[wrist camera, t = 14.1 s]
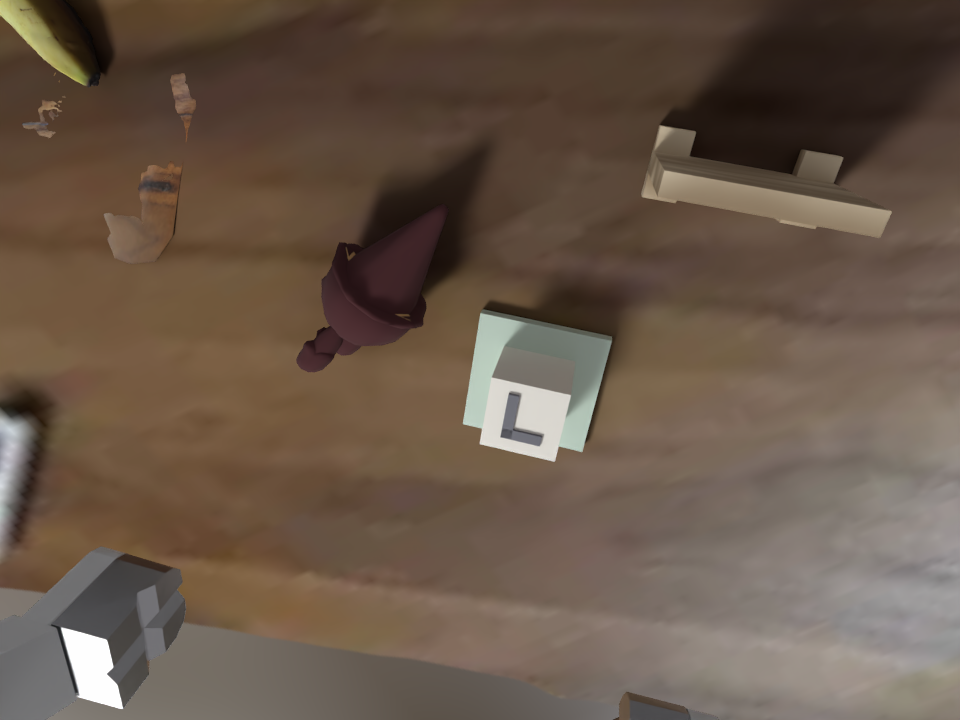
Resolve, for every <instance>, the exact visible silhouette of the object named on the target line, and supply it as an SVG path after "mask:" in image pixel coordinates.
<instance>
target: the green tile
mask: <svg viewBox="0 0 960 720" xmlns="http://www.w3.org/2000/svg"><path fill="white" fill-rule="evenodd" d="M611 342H612V336H607V335H602V334H598V333H593V332H588V331H584V330H579V329H574V328H569V327H565V326H560V325H555V324H551V323H546V322H541V321H536V320H532V319H527V318H522V317H517V316H513V315H508V314H503V313H499V312H494V311H489V310H484V309H483V310H482V312H481V314H480V320H479V326H478V333H477V339H476V345H475V352H474V358H473V364H472V370H471V377H470V383H469V389H468V396H467V402H466V408H465V414H464V421H463V424H465V425H470V426H474V427H478V428H483V423H484V417H485V411H486V406H487V400H488V394H489V389H490V383H491V377H492V375H493V372H494V370H495V367H496V365H497V362H498V360H499V357H500V355H501V352H502V350H503V347H504V346H507V347H512V348H516V349H521V350H526V351H530V352H535V353H539V354H544V355H549V356H553V357H558V358H562V359H567V360H572V361H575V369H574V377H573V384H572V392H571V398H570V402H569V406H568V410H567V414H566V418H565V422H564V426H563V430H562V434H561V438H560V442H559V447H564V448H568V449H572V450H576V451H581V452H582V451H583V447H584V443H585V439H586V436H587V432H588V428H589V425H590V421H591V417H592V413H593V410H594V406H595V402H596V398H597V395H598V391H599V387H600V384H601V380H602V376H603V372H604V369H605V365H606V361H607V357H608V354H609V350H610V346H611Z"/></svg>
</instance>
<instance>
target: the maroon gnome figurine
mask: <svg viewBox="0 0 960 720" xmlns="http://www.w3.org/2000/svg"><path fill="white" fill-rule="evenodd" d="M448 211H449V209H448V207H447V206H446V205H444V204H441V205H439V206H437V207H435V208H433V209H431V210H430V211H428V212H426V213H425V214H423V215H421V216H420V217H418V218H416V219H415V220H413V221H411V222H410V223H408V224H406V225H405V226H403V227H401V228H399V229H398V230H396V231H394V232H393V233H391V234H389V235H387V236H386V237H384V238H382V239H381V240H379V241H377V242H375V243H374V244H372V245H370V246H369V247H367V248H361V247H360V246H359V245H356V244H348V245H347V244H346V243H341V242H340V243H339V245H338V247H337V251H336V254H335V257H334V260H333V262H332V267H331V269H330V270H329V272H328V274H327V276H325V277H324V278H323V279H322V296H321V297H322V302H323V308H324V314H325V317H326V319H327V322H328V324H329V325H330V326H329V327H328V328H327V329H326V328H325V327H323V328H322V329H320V330H318V331H317V336H316V338H315V339H314V340H311V341H306V342H305V344H304V346H303V349H302V350H301V352H300V353H299V355H298V357H297V359H296V360H297V364H298V365H299V367H300V368H301V369H303V370H305V371H307V372H317V371H320V370H323V369H324V368H325V367H326V366H327V365H328V364H329V363H330V362H331V361H332V360H333V358H334V355H335V354H336V352H337V353H338V354H340V355H351V354H352V353H354V352H355V351H357V350H358V349H359V348H360V347H361V346H375V345H385V344H389V343H392V342H395V341H396V340H398V339H399V338H400V337H401V336H403V335H404V334H405V333H406V332H407V331H408V330H409V329H410V328H417V327H421V326H422V325H423V317H424V314H425V311H426V302H425V299H424V298H423V296H422V294H421V290H422V287H423V284H424V281H425V278H426V275H427V272H428V269H429V266H430V263H431V260H432V258H433V255H434V252H435V249H436V246H437V243H438V240H439V237H440V234H441V232H442V229H443V226H444V223H445V221H446V218H447V214H448Z"/></svg>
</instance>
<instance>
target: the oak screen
mask: <svg viewBox="0 0 960 720" xmlns="http://www.w3.org/2000/svg"><path fill="white" fill-rule="evenodd" d="M695 135H696V132H695V131H693V130H687V129H681V128H675V127H669V126H664V125H659V128H658V132H657V136H656V140H655V143H654V147H653V151H652V155H651V159H650V163H649V166H648V170H647V174H646V178H645V182H644V186H643V189H642V193H641V195H642V197H645V198H651V199H656V200H661V201H667V202H672V203H676V201H677V200H678V201H683V202H689V203H694V204H700V205H705V206H710V207H716V208H721V209H727V210H732V211H738V212H743V213H748V214H754V215H759V216H765V217H770V218H775V219H776V220H778V221H779V222H780V223H785V224H791V225H796V226H802V227H807V228H812V229H816V226H819V227H824V228H830V229H835V230H840V231H846V232H851V233H857V234H862V235H867V236H873V237H878V238H880V237H881V235H882V233H883V230H884V228H885V226H886V224H887V221H888V219H889V217H890V215H891V212H892V211H890V210H888V209H886V208H884V207H882V206H880V205H878V204H876V203H873V202H871V201H869V200H867V199H865V198H863V197H861V196H859V195H857V194H855V193H853V192H850V191H848V190H846V189H844V188H842V187H840V186H838V185H836V184H834V181H835V178H836V176H837V173H838V171H839V168H840V166H841V163H842V160H843V158H844V157H841V156H838V155H832V154H827V153H821V152H815V151H809V150H803V149H801V151H800V154H799V156H798V159H797V162H796V165H795V167H794V170H793V173H792V174H787V173H782V172H776V171H770V170H765V169H759V168H753V167H748V166H742V165H736V164H731V163H725V162H719V161H714V160H708V159H702V158H697V157H691V156H690V152H691V149H692V145H693V142H694V138H695Z"/></svg>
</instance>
